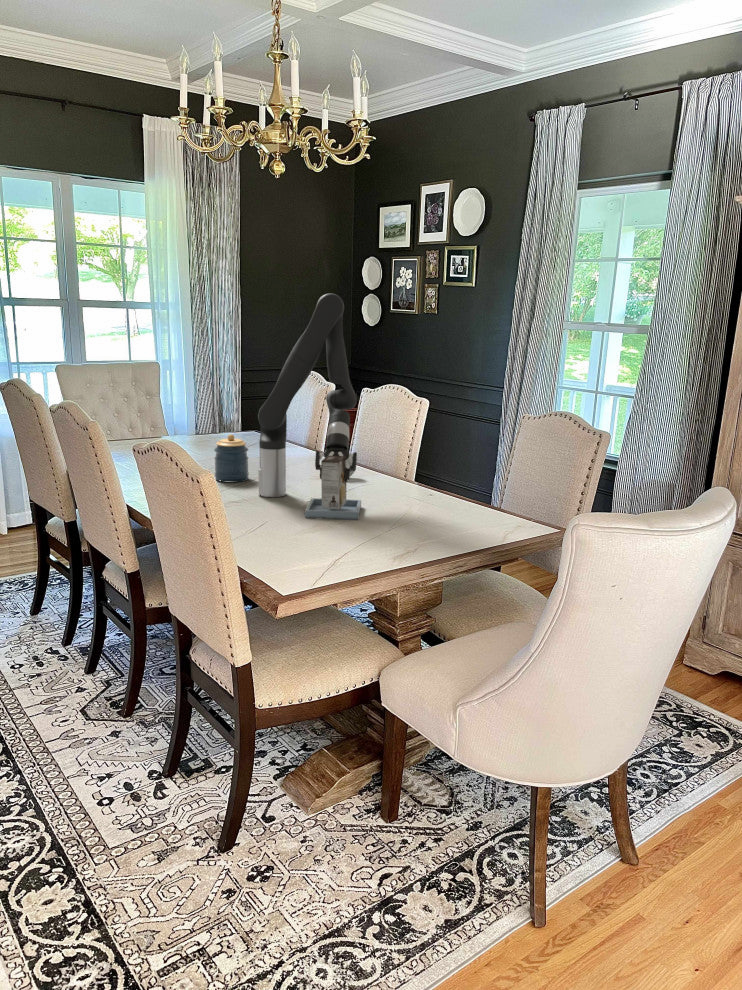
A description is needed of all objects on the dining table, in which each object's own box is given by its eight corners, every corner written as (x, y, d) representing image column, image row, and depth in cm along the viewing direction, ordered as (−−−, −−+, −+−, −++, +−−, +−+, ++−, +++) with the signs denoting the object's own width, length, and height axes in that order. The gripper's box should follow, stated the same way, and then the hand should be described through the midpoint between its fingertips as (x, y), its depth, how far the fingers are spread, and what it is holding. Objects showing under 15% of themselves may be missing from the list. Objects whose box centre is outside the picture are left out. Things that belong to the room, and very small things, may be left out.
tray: (305, 518, 240) (305, 510, 239) (311, 505, 256) (311, 498, 255) (357, 520, 239) (358, 512, 239) (361, 507, 255) (361, 500, 254)
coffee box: (328, 501, 252) (328, 454, 248) (346, 502, 251) (347, 455, 247) (321, 508, 243) (320, 460, 239) (340, 510, 242) (340, 461, 238)
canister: (208, 480, 287) (207, 435, 283) (226, 474, 299) (224, 430, 295) (238, 484, 283) (237, 438, 279) (254, 477, 295) (254, 433, 290)
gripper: (315, 431, 250) (311, 473, 241) (358, 432, 249) (355, 474, 241) (317, 444, 256) (313, 485, 248) (359, 445, 256) (356, 486, 247)
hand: (334, 480), depth 244 cm, fingers closed on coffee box, 7 cm apart
